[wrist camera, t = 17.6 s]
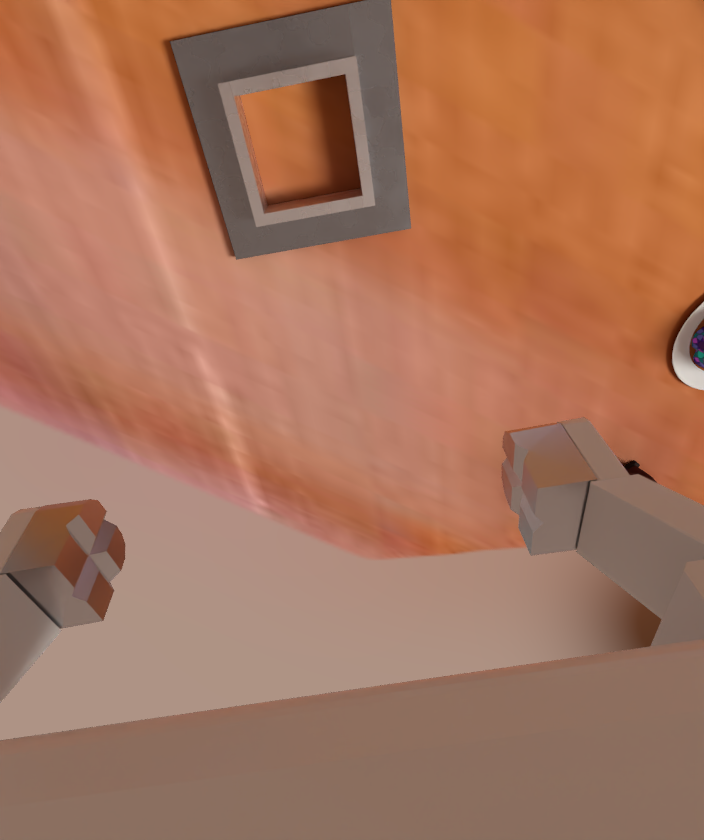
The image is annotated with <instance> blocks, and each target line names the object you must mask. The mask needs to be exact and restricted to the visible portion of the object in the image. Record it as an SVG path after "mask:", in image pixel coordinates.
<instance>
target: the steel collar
mask: <svg viewBox="0 0 704 840" xmlns="http://www.w3.org/2000/svg"><path fill="white" fill-rule="evenodd" d="M170 43H171V47H172V50H173V53H174V56H175V60H176V63H177V66H178V69H179V73H180V76H181V79H182V83H183V86H184V89H185V92H186V96H187V99H188V102H189V106H190V109H191V112H192V115H193V119H194V122H195V125H196V129H197V132H198V135H199V138H200V142H201V145H202V148H203V152H204V155H205V158H206V161H207V165H208V168H209V171H210V174H211V178H212V181H213V184H214V188H215V191H216V194H217V197H218V201H219V204H220V207H221V211H222V214H223V217H224V220H225V224H226V227H227V230H228V234H229V237H230V240H231V243H232V247H233V250H234V253H235V257H236V259H242V258H248V257H253V256H259V255H264V254H270V253H276V252H281V251H287V250H292V249H298V248H304V247H309V246H315V245H321V244H326V243H332V242H337V241H343V240H349V239H354V238H360V237H366V236H371V235H377V234H382V233H388V232H394V231H399V230H405V229H410V228H411V222H410V210H409V199H408V188H407V177H406V166H405V155H404V143H403V132H402V121H401V110H400V99H399V87H398V76H397V65H396V54H395V43H394V32H393V20H392V9H391V0H365V1H360V2H355V3H350V4H346V5H341V6H336V7H331V8H327V9H322V10H317V11H312V12H308V13H303V14H298V15H293V16H289V17H284V18H279V19H274V20H270V21H265V22H260V23H255V24H251V25H246V26H241V27H236V28H232V29H227V30H222V31H217V32H213V33H208V34H203V35H198V36H194V37H189V38H184V39H179V40H175V41H170ZM344 74H345V79H346V86H347V93H348V100H349V107H350V114H351V121H352V128H353V135H354V142H355V149H356V157H357V164H358V171H359V178H360V185H361V188H359V189H353V190H348V191H342V192H337V193H332V194H326V195H321V196H315V197H310V198H304V199H299V200H294V201H288V202H283V203H277V204H272V205H267V201H266V197H265V193H264V189H263V185H262V181H261V177H260V173H259V169H258V165H257V161H256V157H255V153H254V149H253V145H252V141H251V137H250V133H249V129H248V125H247V121H246V117H245V113H244V109H243V105H242V101H241V97H240V95H244V94H249V93H254V92H259V91H264V90H269V89H274V88H279V87H284V86H289V85H294V84H299V83H304V82H309V81H314V80H319V79H324V78H329V77H334V76H339V75H344Z"/></svg>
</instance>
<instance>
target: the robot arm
mask: <svg viewBox="0 0 704 840" xmlns="http://www.w3.org/2000/svg"><path fill="white" fill-rule="evenodd" d="M503 449H504V451H505V454H506V456H507V458H506V459H505V461H504V462H503V463H502V481H503V488H504V492H505V495H506V499H507V501H508V504H509V506H510V509H511V510H512V511H514V512H515V513H517V514H518V515H519V530H520V532H521V534H522V537H523V539H524V541H525V544H526V546H527V548H528V550H529V553H530V555H539V554H547V553H554V552H563V551H571V550H577V551H576V552H577V553H579V554H580V555H581V556H582V557H583V558H585V559H586V560H587V561H589V562H590V563H591V564H592V565H594V566H595V567H596V568H598V569H599V570H600V571H601V572H602V573H604V574H605V575H606V576H608V577H609V578H610V579H612V580H613V581H614V582H615V583H617V584H618V585H619V586H620V587H622V588H623V589H624V590H626V591H627V592H628V593H629V594H630V595H632V596H633V597H634V598H635V599H637V600H638V601H639V602H641V603H642V604H643V605H644V606H646V607H647V608H648V609H650V610H651V611H652V612H653V613H655V614H656V615H657V616H658V617H660V618H661V619H662V621H661V623H660V626H659V628H658V630H657V632H656V635H655V637H654V640H653V642H652V644H651V646H650V647H645V648H637V649H630V650H624V651H617V652H610V653H603V654H596V655H589V656H582V657H575V658H568V659H561V660H554V661H547V662H540V663H534V664H526V665H519V666H513V667H507V668H499V669H492V670H485V671H478V672H471V673H464V674H457V675H450V676H443V677H436V678H429V679H422V680H415V681H408V682H402V683H394V684H387V685H380V686H374V687H366V688H360V689H353V690H346V691H338V692H331V693H325V694H319V695H311V696H304V697H297V698H291V699H283V700H276V701H269V702H263V703H256V704H249V705H242V706H235V707H228V708H221V709H214V710H207V711H201V712H193V713H187V714H180V715H173V716H166V717H159V718H152V719H145V720H138V721H131V722H124V723H117V724H110V725H103V726H96V727H89V728H83V729H76V730H69V731H62V732H55V733H48V734H41V735H34V736H27V737H21V738H13V739H6V740H0V840H704V506H703V505H701V504H699V503H697V502H695V501H693V500H691V499H689V498H687V497H685V496H683V495H681V494H678V493H676V492H674V491H672V490H670V489H668V488H666V487H664V486H662V485H660V484H658V483H656V482H654V481H652V480H649V479H647V478H645V477H643V476H641V475H639V474H636V475H629V473H628V472H627V471H626V469H625V468H624V467H623V465H622V464H621V463H620V461H619V460H618V458H617V457H616V456H615V454H614V453H613V452H612V450H611V449H610V448H609V446H608V445H607V444H606V442H605V441H604V440H603V438H602V437H601V436H600V434H599V433H598V432H597V430H596V429H595V428H594V426H593V425H592V424H591V422H590V421H589V420H588V419H586V418H584V417H583V418H577V419H572V420H566V421H561V422H557V423H551V424H545V425H540V426H534V427H528V428H522V429H516V430H510V431H505V433H504V436H503ZM105 515H106V510H105V509H104V508H103V506H102V505H101V504H100V502H99V501H98V500H91V499H89V500H83V501H75V502H68V503H60V504H53V505H46V506H43V507H36V508H29V509H21V510H18V511H17V512H15V513H13V514H12V515H11V516H10V518H9V519H8V521H7V523H6V524H5V526H4V527H3V529H2V531H1V532H0V703H1V702H2V700H3V699H4V698H5V697H6V696H7V694H8V693H9V692H10V691H11V690H12V688H13V687H14V686H15V685H16V684H17V683H18V681H19V680H20V679H21V678H22V677H23V676H24V674H25V673H26V672H27V671H28V670H29V669H30V667H31V666H32V665H33V664H34V663H35V661H36V660H37V659H38V658H39V657H40V655H41V654H42V653H43V652H44V651H45V650H46V648H47V647H48V646H49V645H50V644H51V643H52V641H53V640H54V639H55V638H56V637H57V635H58V634H59V633H60V632H61V628H66V627H72V626H78V625H83V624H89V623H94V622H99V621H103V620H104V617H105V614H106V612H107V609H108V606H109V603H110V600H111V598H112V595H113V592H114V589H113V587H112V585H111V583H110V581H111V580H112V579H113V578H114V577H115V576H116V575H117V574H118V573H119V572H120V571H121V569H122V566H123V563H124V560H125V542H124V539H123V536H122V533H121V532H120V531H119V529H118V527H117V526H116V525H114V524H112V523H110V522H108V521H106V520H104V518H105Z"/></svg>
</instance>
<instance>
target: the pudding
mask: <svg viewBox="0 0 704 840" xmlns="http://www.w3.org/2000/svg"><path fill="white" fill-rule="evenodd" d="M703 319H704V302H703V303H702V304H701V305H700V306H699V307H698V308H697V309H696V310H695V311H694V312H693V313H692V314H691V315H690V317H689V318H688V319H687V321H686V322H685V323H684V325H683V326H682V328H681V330H680V332H679V333H678V335H677V338H676V341H675V343H674V347H673V352H672V364H673V367H674V371H675V373H676V374H677V376H678V378H679V379H680V380H681V381H683V382H684V383H685V384H687V385H688V386H690V387H693V388H696V389H699V390H704V371H703V370H701V369H699V368H698V367H697V366H696V365H695V364H694V363H693V362H692V360H691V357H690V353H689V346H690V342H691V338H692V336H693V334H694V332H695V330H696V328H697V327H698V325H699V324H700V322H701V321H702V320H703ZM692 347H693V348H694V349H696V352H695V354H694V356H693V359H694V362H695V363H696V364H697V365H699V366H701V367H703V368H704V327H702V328H701V329H700V330H698V331H697V332H696V333H695V335H694V337H693V339H692Z"/></svg>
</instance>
